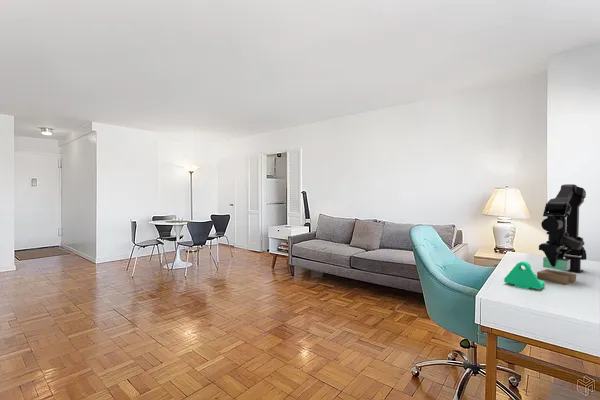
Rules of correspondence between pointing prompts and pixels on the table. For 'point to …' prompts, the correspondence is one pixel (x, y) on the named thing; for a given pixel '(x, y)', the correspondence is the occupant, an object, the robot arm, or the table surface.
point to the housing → (557, 264)
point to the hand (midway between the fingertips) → (556, 265)
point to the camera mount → (524, 277)
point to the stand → (556, 276)
